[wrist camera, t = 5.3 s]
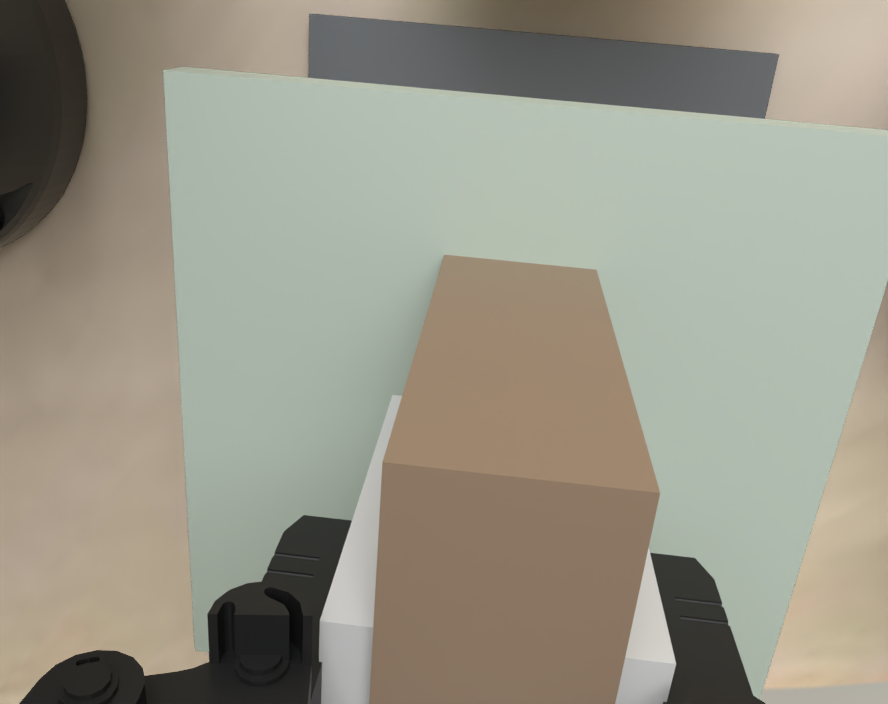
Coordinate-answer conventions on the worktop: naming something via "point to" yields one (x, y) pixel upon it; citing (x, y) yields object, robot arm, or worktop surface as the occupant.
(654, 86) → the square tray
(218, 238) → the board
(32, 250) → the worktop surface
